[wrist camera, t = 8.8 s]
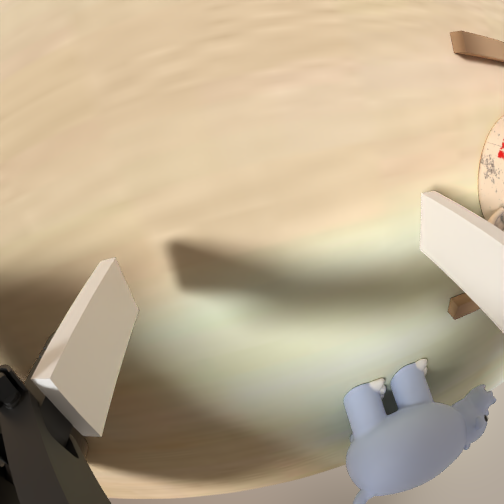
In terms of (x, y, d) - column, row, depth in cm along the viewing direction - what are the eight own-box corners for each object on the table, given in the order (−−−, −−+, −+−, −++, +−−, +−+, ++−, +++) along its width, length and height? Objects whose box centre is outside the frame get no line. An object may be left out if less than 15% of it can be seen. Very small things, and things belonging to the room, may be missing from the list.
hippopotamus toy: (456, 395, 25) (494, 459, 17) (329, 450, 26) (351, 528, 18) (476, 327, 20) (537, 404, 12) (313, 399, 21) (345, 510, 13)
